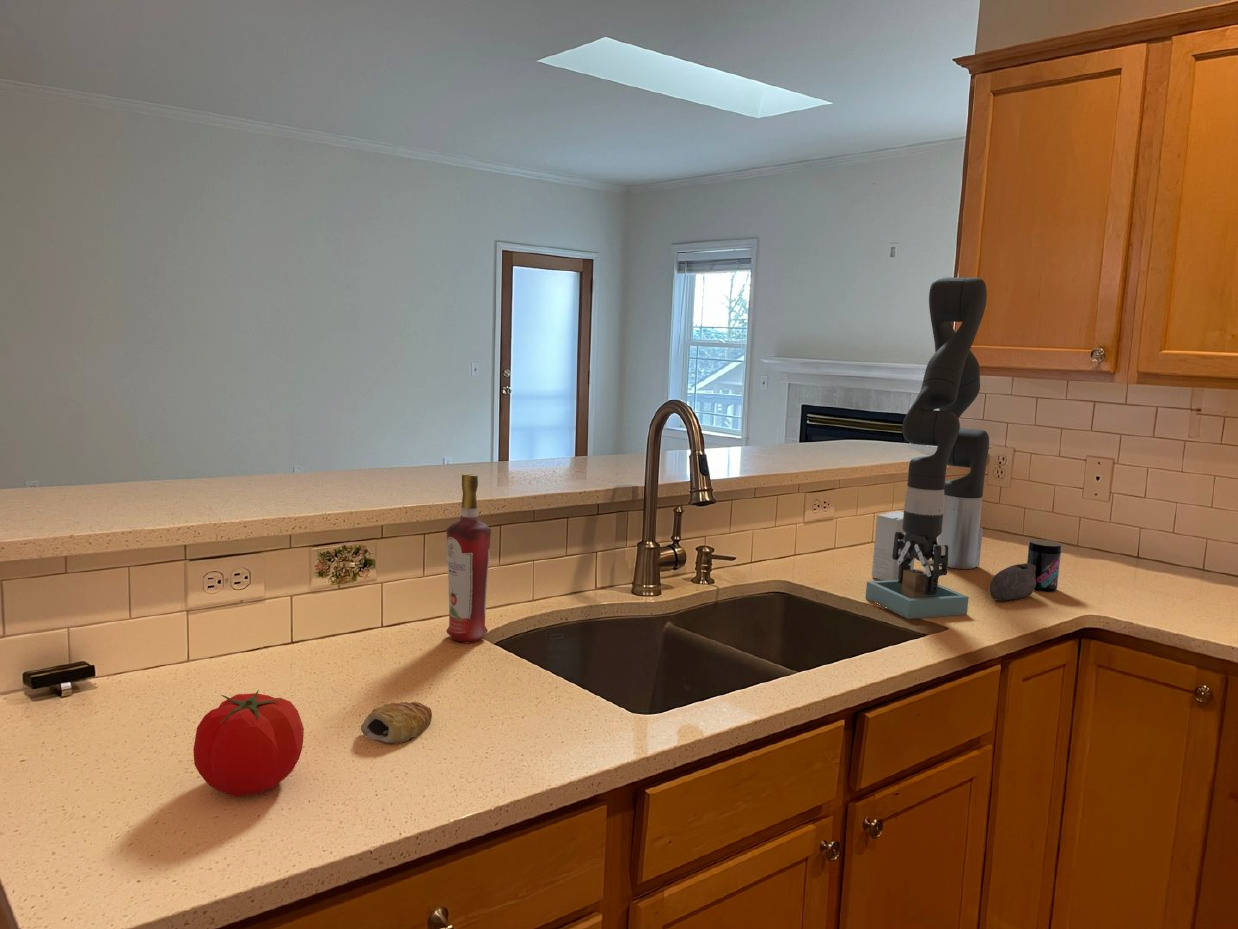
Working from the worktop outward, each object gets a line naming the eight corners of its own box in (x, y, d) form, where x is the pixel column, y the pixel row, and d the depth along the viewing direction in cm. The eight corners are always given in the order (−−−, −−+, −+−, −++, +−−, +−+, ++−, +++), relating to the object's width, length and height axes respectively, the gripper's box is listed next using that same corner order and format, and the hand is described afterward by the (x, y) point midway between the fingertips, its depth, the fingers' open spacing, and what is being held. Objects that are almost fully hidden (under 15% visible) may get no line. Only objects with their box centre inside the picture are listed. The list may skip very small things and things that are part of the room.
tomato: (194, 769, 105) (191, 684, 104) (298, 754, 110) (297, 672, 109) (194, 820, 95) (192, 726, 93) (310, 800, 100) (309, 711, 98)
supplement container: (1028, 591, 200) (1033, 544, 198) (1020, 583, 206) (1024, 538, 205) (1061, 593, 199) (1066, 547, 197) (1051, 585, 205) (1056, 540, 204)
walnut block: (917, 600, 187) (920, 568, 186) (929, 605, 183) (932, 573, 182) (900, 601, 185) (903, 569, 185) (913, 606, 182) (915, 574, 181)
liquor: (435, 637, 154) (438, 474, 150) (469, 628, 159) (472, 470, 155) (463, 648, 149) (466, 479, 145) (497, 638, 154) (501, 475, 151)
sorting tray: (921, 594, 193) (923, 578, 193) (966, 614, 180) (968, 596, 180) (865, 598, 188) (866, 581, 188) (907, 619, 175) (909, 600, 175)
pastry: (406, 712, 124) (406, 685, 123) (445, 724, 121) (446, 697, 120) (356, 737, 116) (356, 709, 115) (396, 751, 113) (397, 722, 112)
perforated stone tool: (1000, 606, 187) (1003, 573, 186) (977, 599, 192) (980, 567, 191) (1041, 597, 196) (1045, 565, 195) (1019, 591, 200) (1022, 560, 199)
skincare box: (891, 573, 211) (897, 510, 209) (914, 579, 206) (920, 514, 204) (870, 577, 206) (875, 513, 204) (893, 584, 201) (898, 518, 199)
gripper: (963, 516, 176) (955, 597, 178) (916, 502, 189) (910, 578, 192) (931, 517, 174) (923, 599, 176) (886, 503, 187) (879, 580, 189)
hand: (916, 588), depth 184 cm, fingers open, 8 cm apart
